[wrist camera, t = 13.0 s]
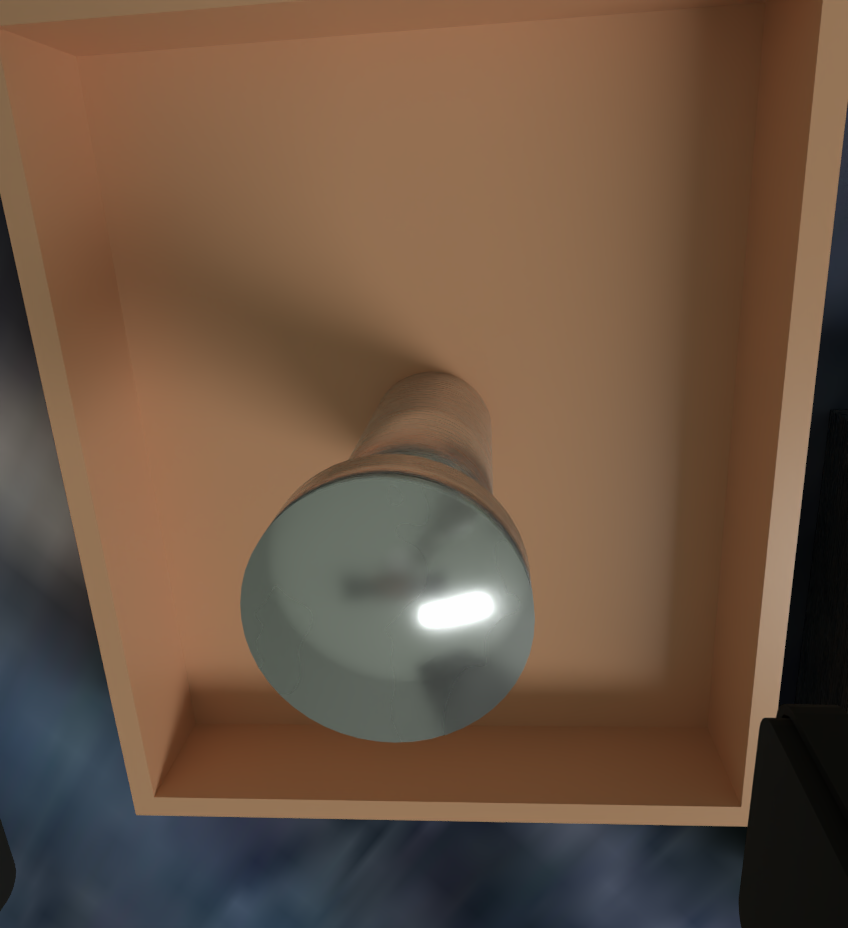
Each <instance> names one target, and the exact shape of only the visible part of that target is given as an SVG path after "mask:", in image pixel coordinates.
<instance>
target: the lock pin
mask: <svg viewBox="0 0 848 928" xmlns="http://www.w3.org/2000/svg"><path fill="white" fill-rule="evenodd" d="M240 608H241V621H242V626H243V630H244V635H245V638H246V641H247V644H248V647H249V649H250V652H251V654H252V656H253V658H254V660H255V662H256V664H257V666H258V668H259V669H260V671H261V672H262V674H263V675H264V676H265V678H266V679H267V681H268V682H269V683H270V684H271V686H272V687H273V688H274V689H275V690H276V691H277V692H278V693H279V694H280V696H282V697H283V698H284V699H285V700H286V701H287V702H288V703H289V704H291V705H292V706H293V707H294V708H295V709H297V710H298V711H300V712H301V713H303V714H304V715H305V716H307V717H308V718H310V719H312V720H314V721H316V722H317V723H319V724H321V725H323V726H325V727H327V728H330V729H332V730H335V731H337V732H340V733H342V734H346V735H349V736H353V737H356V738H360V739H366V740H371V741H378V742H393V743H397V742H415V741H421V740H428V739H433V738H436V737H440V736H443V735H447V734H450V733H452V732H455V731H457V730H459V729H462V728H464V727H466V726H468V725H470V724H471V723H473V722H475V721H477V720H478V719H480V718H481V717H483V716H484V715H485V714H487V713H488V712H489V711H491V710H492V709H493V708H494V707H495V706H496V705H497V704H498V703H499V702H500V701H502V700H503V699H504V698H505V696H506V695H507V694H508V693H509V691H510V690H511V689H512V687H513V686H514V685H515V684H516V682H517V680H518V678H519V677H520V675H521V673H522V671H523V670H524V667H525V665H526V662H527V659H528V657H529V654H530V651H531V646H532V642H533V637H534V625H535V614H534V602H533V593H532V585H531V576H530V568H529V562H528V557H527V553H526V548H525V546H524V543H523V541H522V538H521V535H520V533H519V531H518V529H517V527H516V525H515V524H514V522H513V520H512V518H511V517H510V515H509V514H508V513H507V511H506V510H505V509H504V507H503V506H502V505H501V503H500V502H499V501H498V500H497V499H496V498H495V497H494V496H493V467H492V426H491V418H490V414H489V411H488V408H487V406H486V404H485V402H484V400H483V399H482V397H481V396H480V395H479V393H478V392H477V391H476V390H475V389H474V388H473V387H472V386H471V385H469V384H468V383H467V382H465V381H464V380H462V379H460V378H458V377H456V376H454V375H451V374H447V373H443V372H433V371H429V372H420V373H416V374H413V375H410V376H407V377H405V378H404V379H402V380H400V381H399V382H397V383H396V384H394V385H393V386H392V387H391V388H390V389H389V390H388V391H387V393H386V394H385V395H384V396H383V398H382V400H381V401H380V403H379V405H378V407H377V409H376V410H375V412H374V414H373V416H372V418H371V419H370V421H369V423H368V425H367V427H366V428H365V430H364V432H363V434H362V436H361V437H360V439H359V441H358V443H357V445H356V447H355V448H354V450H353V452H352V454H351V456H350V457H349V459H348V460H346V461H344V462H341V463H338V464H335V465H333V466H331V467H329V468H327V469H325V470H323V471H321V472H319V473H318V474H316V475H315V476H313V477H312V478H310V479H309V480H308V481H306V482H305V483H304V484H303V485H301V486H300V487H299V488H298V489H297V490H296V491H295V492H294V493H293V494H292V495H291V496H290V498H289V499H288V500H287V501H286V503H285V504H284V505H283V506H282V508H281V509H280V511H279V512H278V514H277V515H276V516H275V518H274V519H273V521H272V522H271V524H270V525H269V527H268V528H267V530H266V531H265V533H264V534H263V535H262V537H261V538H260V540H259V542H258V543H257V545H256V547H255V549H254V550H253V552H252V554H251V556H250V559H249V561H248V564H247V567H246V569H245V573H244V577H243V582H242V586H241V599H240Z"/></svg>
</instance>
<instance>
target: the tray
mask: <svg viewBox="0 0 848 928" xmlns="http://www.w3.org/2000/svg"><path fill="white" fill-rule="evenodd" d="M847 101H848V0H0V195H1V199H2V204H3V208H4V213H5V217H6V222H7V227H8V231H9V236H10V240H11V245H12V249H13V254H14V259H15V263H16V268H17V272H18V277H19V281H20V286H21V291H22V295H23V300H24V304H25V309H26V313H27V318H28V323H29V327H30V332H31V336H32V341H33V345H34V350H35V355H36V359H37V364H38V368H39V373H40V377H41V382H42V387H43V391H44V396H45V400H46V405H47V409H48V414H49V419H50V423H51V428H52V432H53V437H54V441H55V446H56V451H57V455H58V460H59V464H60V469H61V473H62V478H63V483H64V487H65V492H66V496H67V501H68V505H69V510H70V515H71V519H72V524H73V528H74V533H75V537H76V542H77V547H78V551H79V556H80V560H81V565H82V569H83V574H84V579H85V583H86V588H87V592H88V597H89V601H90V606H91V611H92V615H93V620H94V624H95V629H96V633H97V638H98V643H99V647H100V652H101V656H102V661H103V665H104V670H105V675H106V679H107V684H108V688H109V693H110V697H111V702H112V707H113V711H114V716H115V720H116V725H117V729H118V734H119V739H120V743H121V748H122V752H123V757H124V761H125V766H126V771H127V775H128V780H129V784H130V789H131V793H132V798H133V803H134V807H135V812H136V815H163V816H216V817H268V818H321V819H373V820H426V821H479V822H531V823H584V824H636V825H689V826H741V827H747V826H748V818H749V810H750V801H751V793H752V785H753V776H754V768H755V760H756V751H757V743H758V735H759V727H760V723H761V721H762V719H763V718H776V715H777V711H778V704H779V695H780V686H781V678H782V669H783V660H784V651H785V643H786V634H787V625H788V617H789V608H790V599H791V590H792V582H793V573H794V564H795V555H796V547H797V538H798V529H799V520H800V512H801V503H802V494H803V485H804V477H805V468H806V459H807V451H808V442H809V433H810V424H811V416H812V407H813V398H814V389H815V381H816V372H817V363H818V354H819V346H820V337H821V328H822V320H823V311H824V302H825V293H826V285H827V276H828V267H829V258H830V250H831V241H832V232H833V223H834V215H835V206H836V197H837V189H838V180H839V171H840V162H841V154H842V145H843V136H844V127H845V119H846V110H847ZM429 371H433V372H443V373H447V374H451V375H454V376H456V377H458V378H460V379H462V380H464V381H465V382H467V383H468V384H469V385H471V386H472V387H473V388H474V389H475V390H476V391H477V392H478V393H479V395H480V396H481V397H482V399H483V400H484V402H485V404H486V406H487V408H488V411H489V414H490V418H491V426H492V467H493V496H494V497H495V498H496V499H497V500H498V501H499V502H500V503H501V505H502V506H503V507H504V509H505V510H506V511H507V513H508V514H509V515H510V517H511V518H512V520H513V522H514V524H515V525H516V527H517V529H518V531H519V533H520V535H521V538H522V541H523V543H524V546H525V548H526V553H527V557H528V562H529V568H530V576H531V585H532V593H533V602H534V614H535V625H534V637H533V642H532V646H531V651H530V654H529V657H528V659H527V662H526V665H525V667H524V670H523V671H522V673H521V675H520V677H519V678H518V680H517V682H516V684H515V685H514V686H513V687H512V689H511V690H510V691H509V693H508V694H507V695H506V696H505V698H504V699H503V700H502V701H500V702H499V703H498V704H497V705H496V706H495V707H494V708H493V709H492V710H491V711H489V712H488V713H487V714H485V715H484V716H483V717H481V718H480V719H478V720H477V721H475V722H473V723H471V724H470V725H468V726H466V727H464V728H462V729H459V730H457V731H455V732H452V733H450V734H447V735H443V736H440V737H436V738H433V739H428V740H421V741H415V742H397V743H393V742H378V741H371V740H366V739H360V738H356V737H353V736H349V735H346V734H342V733H340V732H337V731H335V730H332V729H330V728H327V727H325V726H323V725H321V724H319V723H317V722H316V721H314V720H312V719H310V718H308V717H307V716H305V715H304V714H303V713H301V712H300V711H298V710H297V709H295V708H294V707H293V706H292V705H291V704H289V703H288V702H287V701H286V700H285V699H284V698H283V697H282V696H280V694H279V693H278V692H277V691H276V690H275V689H274V688H273V687H272V686H271V684H270V683H269V682H268V681H267V679H266V678H265V676H264V675H263V674H262V672H261V671H260V669H259V668H258V666H257V664H256V662H255V660H254V658H253V656H252V654H251V652H250V649H249V647H248V644H247V641H246V638H245V635H244V630H243V626H242V621H241V608H240V599H241V586H242V582H243V577H244V573H245V569H246V567H247V564H248V561H249V559H250V556H251V554H252V552H253V550H254V549H255V547H256V545H257V543H258V542H259V540H260V538H261V537H262V535H263V534H264V533H265V531H266V530H267V528H268V527H269V525H270V524H271V522H272V521H273V519H274V518H275V516H276V515H277V514H278V512H279V511H280V509H281V508H282V506H283V505H284V504H285V503H286V501H287V500H288V499H289V498H290V496H291V495H292V494H293V493H294V492H295V491H296V490H297V489H298V488H299V487H300V486H301V485H303V484H304V483H305V482H306V481H308V480H309V479H310V478H312V477H313V476H315V475H316V474H318V473H319V472H321V471H323V470H325V469H327V468H329V467H331V466H333V465H335V464H338V463H341V462H344V461H346V460H348V459H349V457H350V456H351V454H352V452H353V450H354V448H355V447H356V445H357V443H358V441H359V439H360V437H361V436H362V434H363V432H364V430H365V428H366V427H367V425H368V423H369V421H370V419H371V418H372V416H373V414H374V412H375V410H376V409H377V407H378V405H379V403H380V401H381V400H382V398H383V396H384V395H385V394H386V393H387V391H388V390H389V389H390V388H391V387H392V386H393V385H394V384H396V383H397V382H399V381H400V380H402V379H404V378H405V377H407V376H410V375H413V374H416V373H420V372H429Z"/></svg>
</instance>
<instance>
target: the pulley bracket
mask: <svg viewBox="0 0 848 928" xmlns="http://www.w3.org/2000/svg"><path fill="white" fill-rule="evenodd" d="M795 704H817V705H838V706H840V707H842V708H843V709H844V711H845V712H846V713H847V714H848V410H831V412H830V420H829V428H828V436H827V444H826V452H825V461H824V469H823V477H822V485H821V493H820V501H819V510H818V518H817V526H816V534H815V542H814V550H813V559H812V567H811V575H810V583H809V591H808V599H807V607H806V616H805V624H804V632H803V640H802V648H801V656H800V665H799V673H798V681H797V689H796V697H795Z"/></svg>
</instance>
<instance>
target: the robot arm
mask: <svg viewBox="0 0 848 928" xmlns="http://www.w3.org/2000/svg"><path fill="white" fill-rule="evenodd" d="M15 877H16V868H15V863H14V860H13V857H12V854H11V851H10V848H9V845H8V841H7V838H6V835H5V832H4V829H3V826H2V823H1V820H0V911H1V909H2V908H3V906H4V905H5V903H6V902H7V900H8V898H9V896H10V895H11V892H12V889H13V887H14V883H15ZM739 915H740V922H741V927H742V928H848V714H847V713H846V712H845V711H844V709H843V708H842V707H840V706H838V705H817V704H783V705H780V707H779V709H778V711H777V715H776V718H763V719H762V721H761V723H760V727H759V735H758V743H757V751H756V760H755V768H754V776H753V785H752V793H751V801H750V810H749V818H748V826H747V835H746V843H745V851H744V860H743V868H742V876H741V885H740V893H739Z"/></svg>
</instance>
